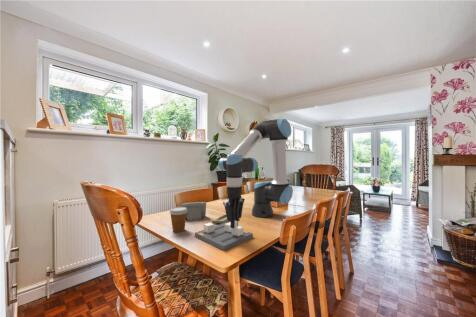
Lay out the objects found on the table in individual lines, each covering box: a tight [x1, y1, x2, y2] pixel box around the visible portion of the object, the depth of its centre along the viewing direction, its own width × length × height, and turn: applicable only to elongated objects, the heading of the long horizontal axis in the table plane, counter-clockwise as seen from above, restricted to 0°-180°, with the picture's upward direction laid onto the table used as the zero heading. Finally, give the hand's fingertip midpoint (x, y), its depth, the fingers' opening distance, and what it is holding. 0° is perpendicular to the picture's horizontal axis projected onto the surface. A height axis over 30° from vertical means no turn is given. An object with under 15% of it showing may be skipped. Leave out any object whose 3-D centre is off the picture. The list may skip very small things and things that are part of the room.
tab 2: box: [224, 221, 231, 232], centre depth 106 cm, size 4×4×4 cm
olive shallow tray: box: [211, 213, 231, 226], centre depth 129 cm, size 16×8×3 cm, turn 152°
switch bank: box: [194, 223, 254, 251], centre depth 104 cm, size 20×22×2 cm
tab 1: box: [203, 222, 215, 233], centre depth 105 cm, size 4×4×4 cm
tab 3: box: [235, 225, 245, 236], centre depth 101 cm, size 4×4×4 cm
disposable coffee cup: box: [169, 206, 187, 233], centre depth 113 cm, size 10×10×12 cm
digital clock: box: [180, 201, 207, 221], centre depth 134 cm, size 16×9×11 cm, turn 96°
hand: (234, 233), depth 99 cm, fingers closed
